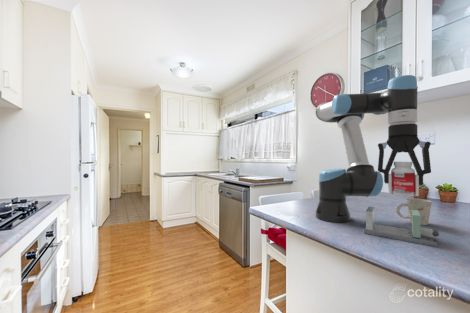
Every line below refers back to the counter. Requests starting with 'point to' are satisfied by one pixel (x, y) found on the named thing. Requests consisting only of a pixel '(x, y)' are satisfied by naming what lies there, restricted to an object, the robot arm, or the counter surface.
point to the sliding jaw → (416, 226)
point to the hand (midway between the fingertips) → (402, 194)
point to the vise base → (394, 231)
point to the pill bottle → (403, 179)
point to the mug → (419, 205)
